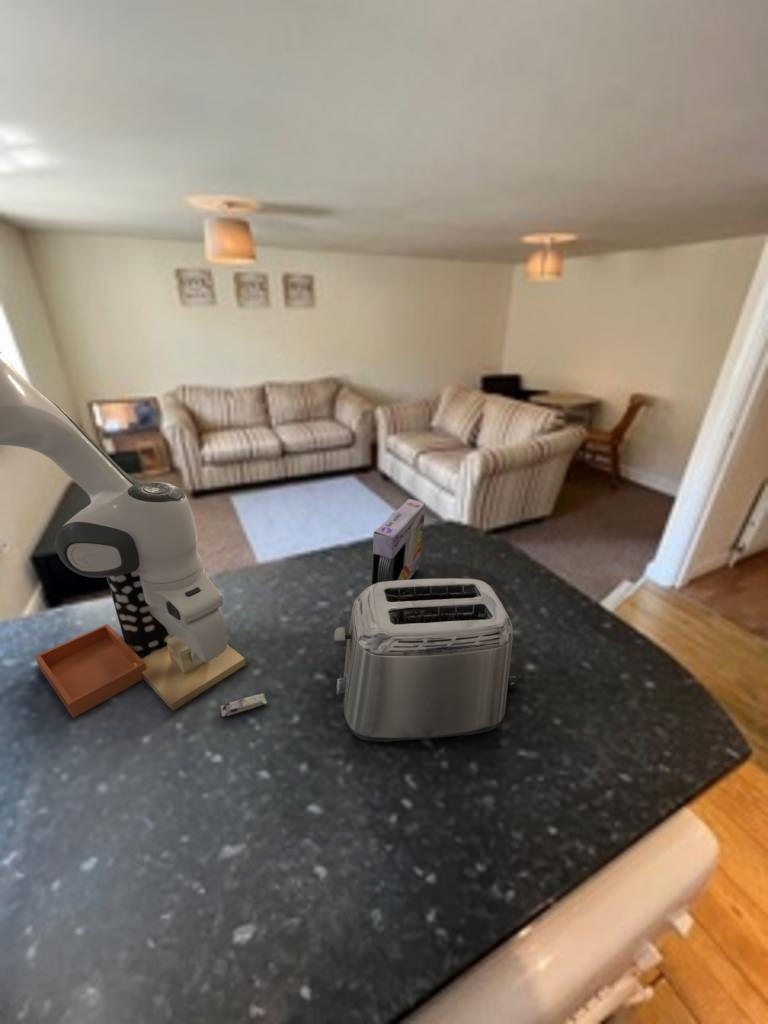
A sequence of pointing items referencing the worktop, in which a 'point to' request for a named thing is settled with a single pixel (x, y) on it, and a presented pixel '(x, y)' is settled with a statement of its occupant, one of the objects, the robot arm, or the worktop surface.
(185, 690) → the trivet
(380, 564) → the cake pan box
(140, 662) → the orange-brown tray
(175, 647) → the block
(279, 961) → the worktop surface
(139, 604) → the white-spotted black cylinder
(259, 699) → the granola bar
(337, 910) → the worktop surface
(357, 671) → the toaster
